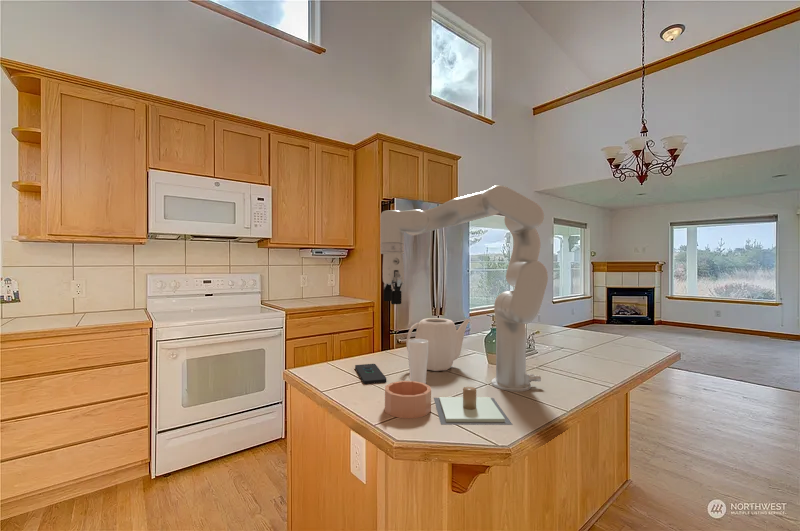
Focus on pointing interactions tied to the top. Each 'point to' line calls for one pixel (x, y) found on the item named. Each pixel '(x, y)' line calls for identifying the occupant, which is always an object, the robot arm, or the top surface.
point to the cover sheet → (470, 415)
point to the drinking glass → (418, 359)
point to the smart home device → (370, 374)
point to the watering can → (440, 341)
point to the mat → (443, 422)
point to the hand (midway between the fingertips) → (392, 302)
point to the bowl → (407, 399)
